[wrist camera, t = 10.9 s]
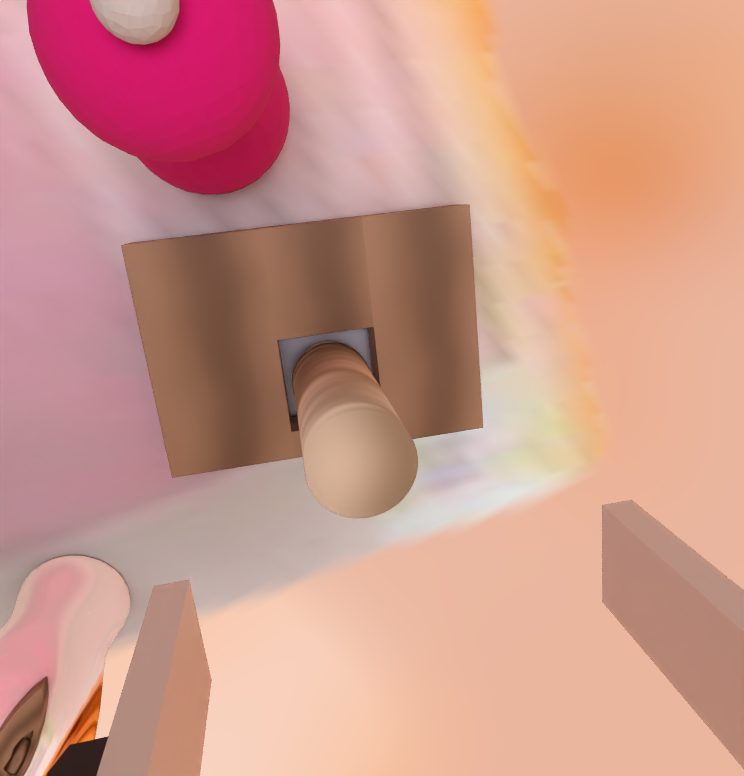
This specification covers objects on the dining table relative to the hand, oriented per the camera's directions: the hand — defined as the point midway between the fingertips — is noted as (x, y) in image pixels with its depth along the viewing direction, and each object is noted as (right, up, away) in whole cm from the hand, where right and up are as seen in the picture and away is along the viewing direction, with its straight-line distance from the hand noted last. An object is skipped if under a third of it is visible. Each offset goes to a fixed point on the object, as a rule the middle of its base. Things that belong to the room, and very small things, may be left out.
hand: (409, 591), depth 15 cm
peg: (-3, +6, +21) cm, 22 cm away
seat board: (-4, +8, +20) cm, 22 cm away
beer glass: (-18, -8, +22) cm, 30 cm away
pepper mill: (-9, +18, +16) cm, 26 cm away
